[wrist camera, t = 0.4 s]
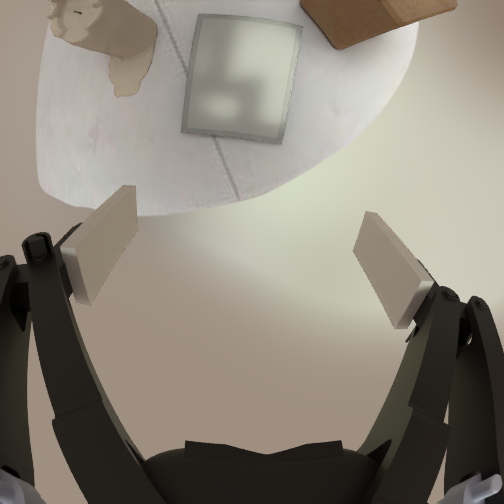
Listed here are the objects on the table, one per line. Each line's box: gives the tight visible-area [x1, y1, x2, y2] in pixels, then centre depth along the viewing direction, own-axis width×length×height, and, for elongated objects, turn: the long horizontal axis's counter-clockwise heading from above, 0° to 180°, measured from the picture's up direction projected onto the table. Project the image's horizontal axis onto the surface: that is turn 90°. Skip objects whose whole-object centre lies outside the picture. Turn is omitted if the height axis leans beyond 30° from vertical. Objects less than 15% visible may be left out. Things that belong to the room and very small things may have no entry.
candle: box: [47, 0, 157, 97], centre depth 22 cm, size 7×14×20 cm, turn 170°
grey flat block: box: [181, 14, 303, 144], centre depth 32 cm, size 18×14×3 cm
